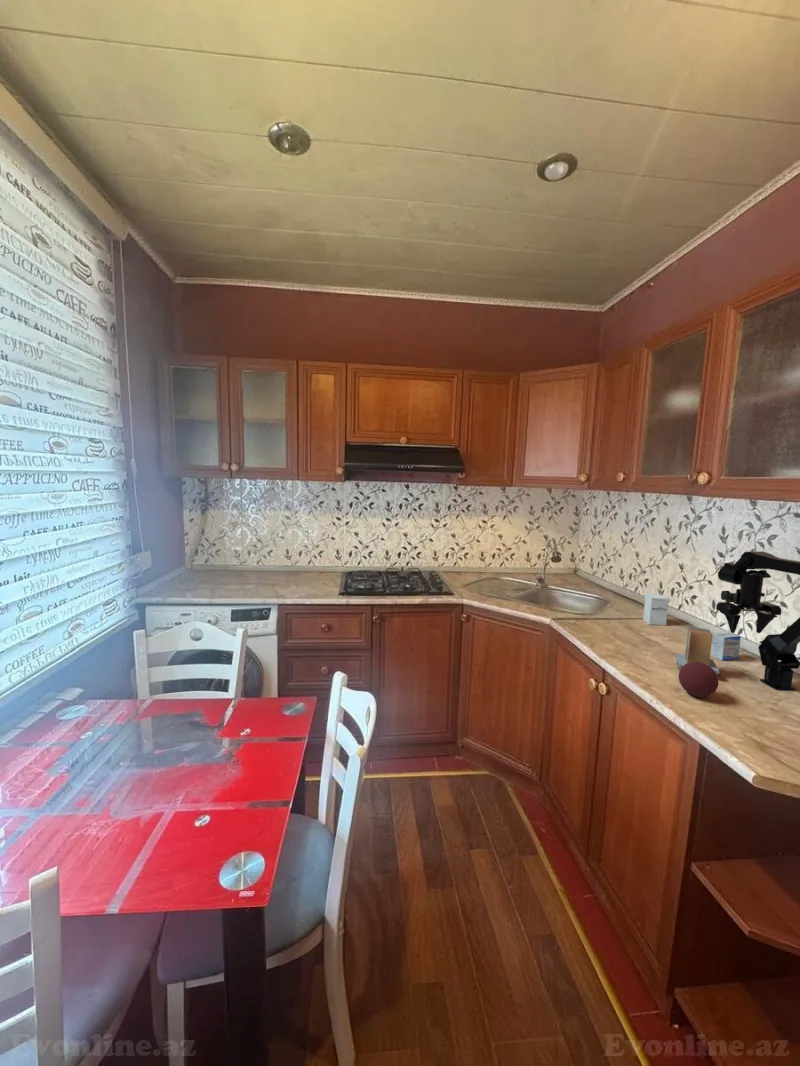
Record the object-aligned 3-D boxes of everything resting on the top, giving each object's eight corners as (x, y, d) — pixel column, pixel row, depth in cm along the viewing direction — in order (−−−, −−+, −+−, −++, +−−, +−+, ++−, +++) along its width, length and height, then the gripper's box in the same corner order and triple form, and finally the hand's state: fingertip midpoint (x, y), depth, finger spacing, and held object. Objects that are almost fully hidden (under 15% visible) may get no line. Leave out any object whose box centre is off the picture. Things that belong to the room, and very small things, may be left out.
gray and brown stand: (711, 668, 154) (712, 659, 153) (718, 681, 144) (719, 671, 144) (674, 662, 158) (675, 653, 158) (678, 674, 149) (679, 664, 148)
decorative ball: (670, 685, 140) (673, 655, 139) (704, 688, 139) (708, 657, 138) (687, 701, 130) (691, 669, 129) (724, 704, 129) (728, 671, 128)
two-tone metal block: (705, 660, 152) (709, 629, 151) (708, 667, 147) (712, 635, 145) (684, 657, 155) (688, 626, 153) (687, 663, 149) (690, 632, 148)
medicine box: (721, 661, 160) (724, 637, 159) (710, 656, 165) (712, 633, 164) (738, 659, 163) (741, 636, 161) (726, 654, 167) (729, 632, 166)
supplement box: (648, 624, 199) (651, 597, 198) (642, 619, 206) (645, 593, 205) (666, 626, 198) (669, 598, 196) (660, 620, 205) (662, 594, 204)
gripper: (757, 582, 158) (751, 625, 160) (706, 582, 157) (701, 624, 159) (785, 590, 147) (779, 636, 149) (731, 590, 146) (726, 635, 148)
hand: (745, 632), depth 152 cm, fingers open, 9 cm apart
